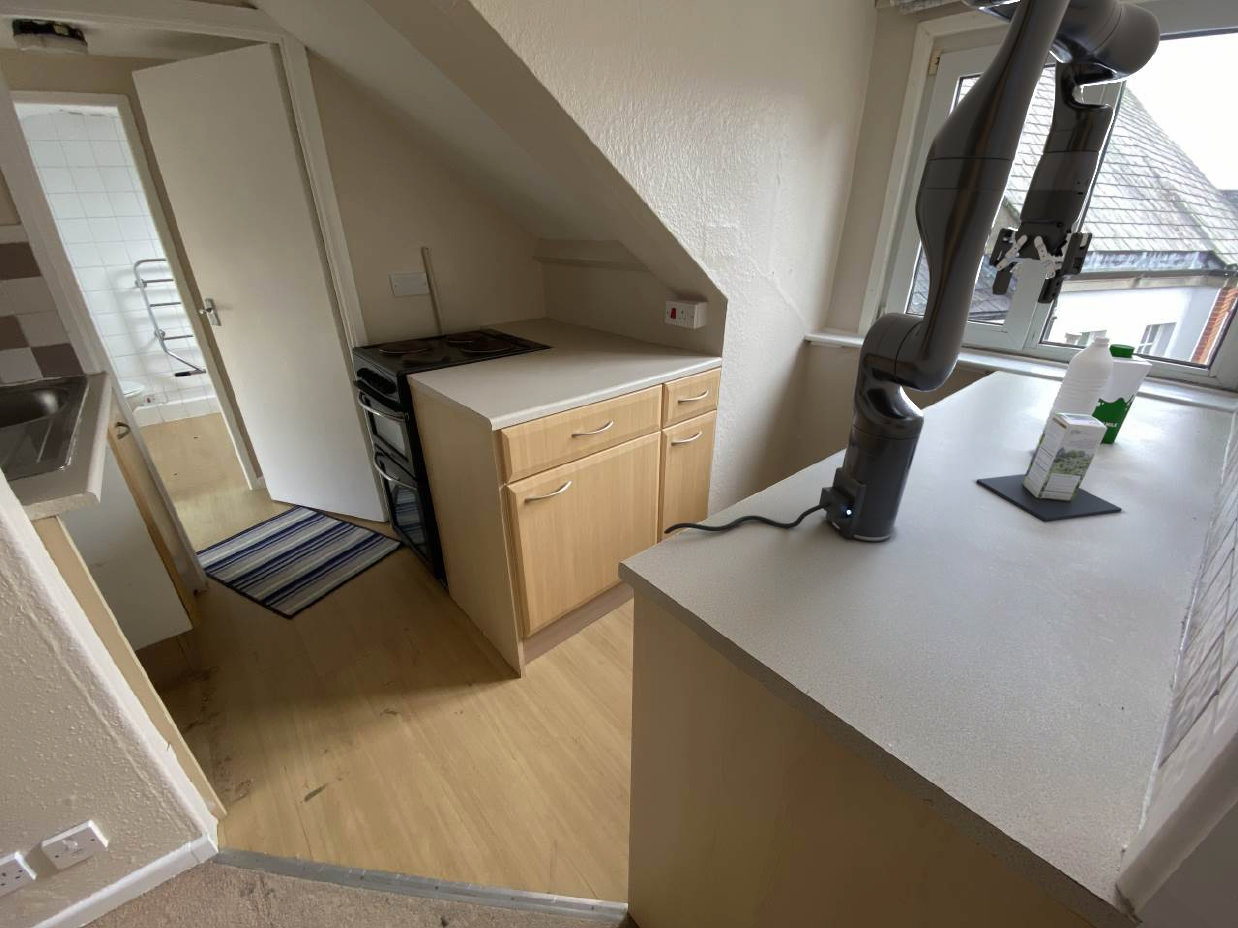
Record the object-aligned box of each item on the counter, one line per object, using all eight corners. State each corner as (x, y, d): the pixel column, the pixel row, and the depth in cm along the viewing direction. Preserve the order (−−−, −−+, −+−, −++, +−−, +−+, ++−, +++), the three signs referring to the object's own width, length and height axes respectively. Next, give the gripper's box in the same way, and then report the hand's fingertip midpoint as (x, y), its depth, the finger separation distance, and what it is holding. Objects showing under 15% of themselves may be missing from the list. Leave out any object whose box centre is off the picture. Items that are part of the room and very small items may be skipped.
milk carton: (1104, 431, 123) (1143, 346, 114) (1120, 446, 115) (1163, 356, 106) (1059, 425, 126) (1093, 341, 117) (1071, 439, 118) (1110, 351, 109)
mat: (1044, 521, 87) (1046, 518, 87) (976, 482, 99) (977, 479, 99) (1120, 511, 90) (1122, 508, 90) (1045, 474, 103) (1046, 471, 102)
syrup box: (1055, 487, 97) (1087, 413, 90) (1073, 503, 92) (1109, 425, 85) (1020, 483, 98) (1050, 410, 91) (1036, 499, 93) (1069, 422, 86)
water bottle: (1073, 457, 110) (1126, 337, 99) (1069, 467, 106) (1124, 342, 94) (1023, 445, 115) (1068, 329, 104) (1017, 454, 111) (1064, 334, 100)
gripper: (998, 188, 85) (967, 292, 93) (1084, 186, 73) (1041, 307, 80) (1036, 189, 87) (1002, 291, 94) (1127, 187, 74) (1080, 306, 82)
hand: (1020, 298), depth 87 cm, fingers open, 8 cm apart
